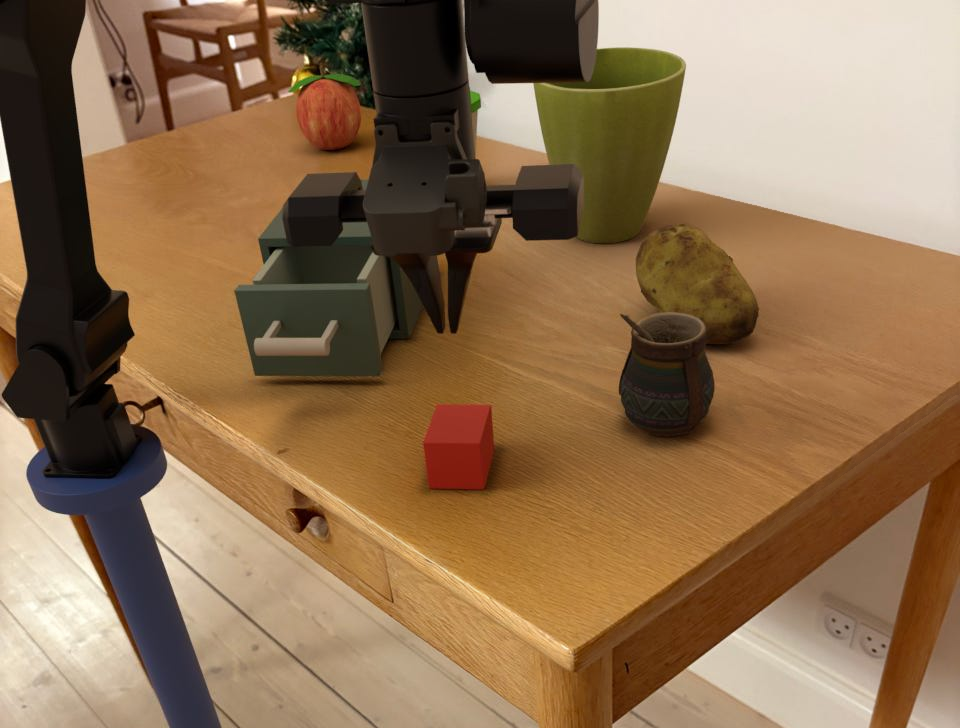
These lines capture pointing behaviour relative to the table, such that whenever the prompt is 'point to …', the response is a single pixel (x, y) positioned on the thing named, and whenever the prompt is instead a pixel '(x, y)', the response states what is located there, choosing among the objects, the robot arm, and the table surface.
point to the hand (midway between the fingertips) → (448, 331)
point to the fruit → (328, 110)
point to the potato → (696, 282)
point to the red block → (459, 447)
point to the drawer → (319, 312)
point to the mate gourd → (667, 374)
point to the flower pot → (614, 134)
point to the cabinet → (357, 235)
